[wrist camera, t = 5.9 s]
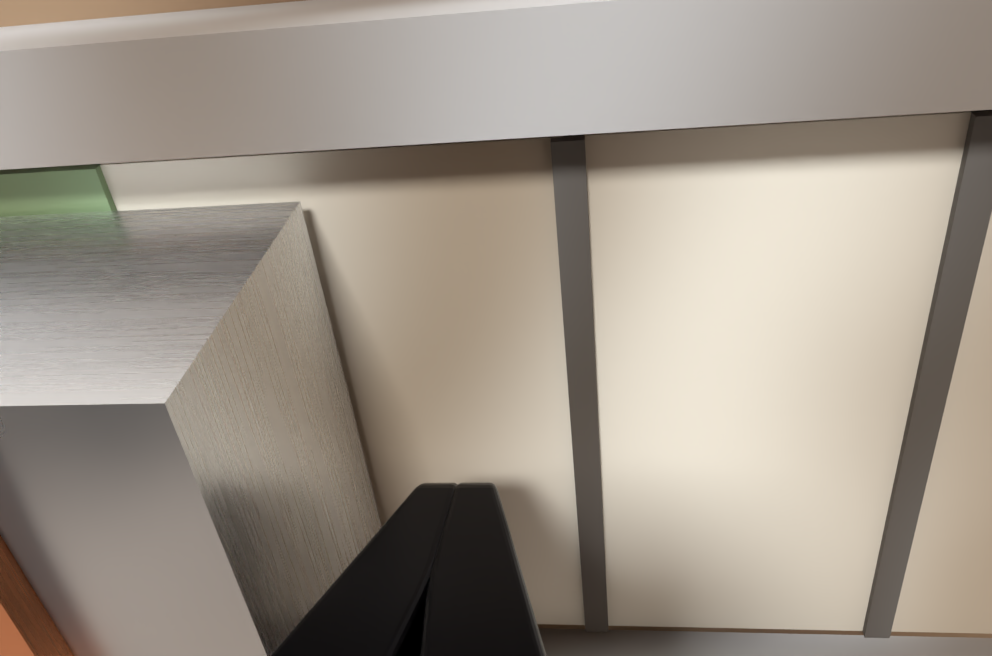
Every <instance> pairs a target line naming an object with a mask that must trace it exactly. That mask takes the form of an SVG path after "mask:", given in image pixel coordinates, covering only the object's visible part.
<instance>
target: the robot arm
mask: <svg viewBox="0 0 992 656" xmlns="http://www.w3.org/2000/svg"><path fill="white" fill-rule="evenodd" d="M270 656H547V655H546V652H545V648H544V645H543V642H542V638H541V635H540V631H539V628H538V625H537V621H536V618H535V614H534V611H533V608H532V604H531V601H530V597H529V594H528V591H527V587H526V584H525V580H524V577H523V574H522V570H521V567H520V563H519V560H518V557H517V553H516V550H515V546H514V543H513V540H512V536H511V533H510V529H509V526H508V523H507V519H506V516H505V512H504V509H503V506H502V502H501V499H500V495H499V492H498V489H497V487H496V485H495V484H493V483H490V482H473V483H459V484H456V483H422V484H420V485H419V486H417V487H416V488H415V489H414V490H413V491H412V492H411V494H410V495H409V496H408V497H407V498H406V499H405V501H404V502H403V503H402V504H401V505H400V506H399V507H398V509H397V510H396V511H395V512H394V513H393V514H392V516H391V517H390V518H389V519H388V520H387V521H386V523H385V524H384V525H383V526H382V527H381V528H380V529H379V531H378V532H377V533H376V534H375V535H374V536H373V538H372V539H371V540H370V541H369V542H368V543H367V544H366V546H365V547H364V548H363V549H362V550H361V551H360V553H359V554H358V555H357V556H356V557H355V558H354V559H353V561H352V562H351V563H350V564H349V565H348V566H347V568H346V569H345V570H344V571H343V572H342V573H341V575H340V576H339V577H338V578H337V579H336V580H335V581H334V583H333V584H332V585H331V586H330V587H329V588H328V590H327V591H326V592H325V593H324V594H323V595H322V596H321V598H320V599H319V600H318V601H317V602H316V603H315V605H314V606H313V607H312V608H311V609H310V610H309V611H308V613H307V614H306V615H305V616H304V617H303V618H302V620H301V621H300V622H299V623H298V624H297V625H296V626H295V628H294V629H293V630H292V631H291V632H290V633H289V635H288V636H287V637H286V638H285V639H284V640H283V642H282V643H281V644H280V645H279V646H278V647H277V648H276V650H275V651H274V652H273V653H272V654H271V655H270Z"/></svg>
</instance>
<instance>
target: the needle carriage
mask: <svg viewBox="0 0 992 656" xmlns="http://www.w3.org/2000/svg"><path fill="white" fill-rule="evenodd" d="M381 527H382V524H381V520H380V516H379V512H378V508H377V504H376V500H375V497H374V493H373V489H372V485H371V481H370V477H369V473H368V469H367V465H366V461H365V457H364V453H363V449H362V445H361V441H360V437H359V433H358V429H357V425H356V421H355V417H354V413H353V409H352V405H351V401H350V397H349V393H348V389H347V385H346V381H345V377H344V373H343V370H342V366H341V362H340V358H339V354H338V350H337V346H336V342H335V338H334V334H333V330H332V326H331V322H330V318H329V314H328V310H327V306H326V302H325V298H324V294H323V290H322V286H321V282H320V278H319V274H318V270H317V266H316V262H315V258H314V254H313V250H312V246H311V243H310V239H309V235H308V231H307V227H306V223H305V219H304V215H303V211H302V207H301V203H300V201H298V202H279V203H260V204H240V205H221V206H202V207H183V208H164V209H144V210H125V211H106V212H87V213H68V214H48V215H29V216H10V217H0V656H270V655H271V654H272V653H273V652H274V651H275V650H276V648H277V647H278V646H279V645H280V644H281V643H282V642H283V640H284V639H285V638H286V637H287V636H288V635H289V633H290V632H291V631H292V630H293V629H294V628H295V626H296V625H297V624H298V623H299V622H300V621H301V620H302V618H303V617H304V616H305V615H306V614H307V613H308V611H309V610H310V609H311V608H312V607H313V606H314V605H315V603H316V602H317V601H318V600H319V599H320V598H321V596H322V595H323V594H324V593H325V592H326V591H327V590H328V588H329V587H330V586H331V585H332V584H333V583H334V581H335V580H336V579H337V578H338V577H339V576H340V575H341V573H342V572H343V571H344V570H345V569H346V568H347V566H348V565H349V564H350V563H351V562H352V561H353V559H354V558H355V557H356V556H357V555H358V554H359V553H360V551H361V550H362V549H363V548H364V547H365V546H366V544H367V543H368V542H369V541H370V540H371V539H372V538H373V536H374V535H375V534H376V533H377V532H378V531H379V529H380V528H381Z"/></svg>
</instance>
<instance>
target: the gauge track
mask: <svg viewBox="0 0 992 656" xmlns="http://www.w3.org/2000/svg"><path fill="white" fill-rule="evenodd" d="M298 201H300V203H301V207H302V211H303V215H304V219H305V223H306V227H307V231H308V235H309V239H310V243H311V246H312V250H313V254H314V258H315V262H316V266H317V270H318V274H319V278H320V282H321V286H322V290H323V294H324V298H325V302H326V306H327V310H328V314H329V318H330V322H331V326H332V330H333V334H334V338H335V342H336V346H337V350H338V354H339V358H340V362H341V366H342V370H343V373H344V377H345V381H346V385H347V389H348V393H349V397H350V401H351V405H352V409H353V413H354V417H355V421H356V425H357V429H358V433H359V437H360V441H361V445H362V449H363V453H364V457H365V461H366V465H367V469H368V473H369V477H370V481H371V485H372V489H373V493H374V497H375V500H376V504H377V508H378V512H379V516H380V520H381V524H382V526H383V525H384V524H385V523H386V521H387V520H388V519H389V518H390V517H391V516H392V514H393V513H394V512H395V511H396V510H397V509H398V507H399V506H400V505H401V504H402V503H403V502H404V501H405V499H406V498H407V497H408V496H409V495H410V494H411V492H412V491H413V490H414V489H415V488H416V487H417V486H419V485H420V484H422V483H456V484H459V483H473V482H490V483H493V484H495V485H496V487H497V489H498V492H499V495H500V499H501V502H502V506H503V509H504V512H505V516H506V519H507V523H508V526H509V529H510V533H511V536H512V540H513V543H514V546H515V550H516V553H517V557H518V560H519V563H520V567H521V570H522V574H523V577H524V580H525V584H526V587H527V591H528V594H529V597H530V601H531V604H532V608H533V611H534V614H535V618H536V621H537V625H538V628H539V631H540V635H541V638H542V642H543V645H544V648H545V652H546V655H547V656H992V0H0V217H10V216H29V215H48V214H68V213H87V212H106V211H125V210H144V209H164V208H183V207H202V206H221V205H240V204H260V203H279V202H298Z"/></svg>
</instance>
